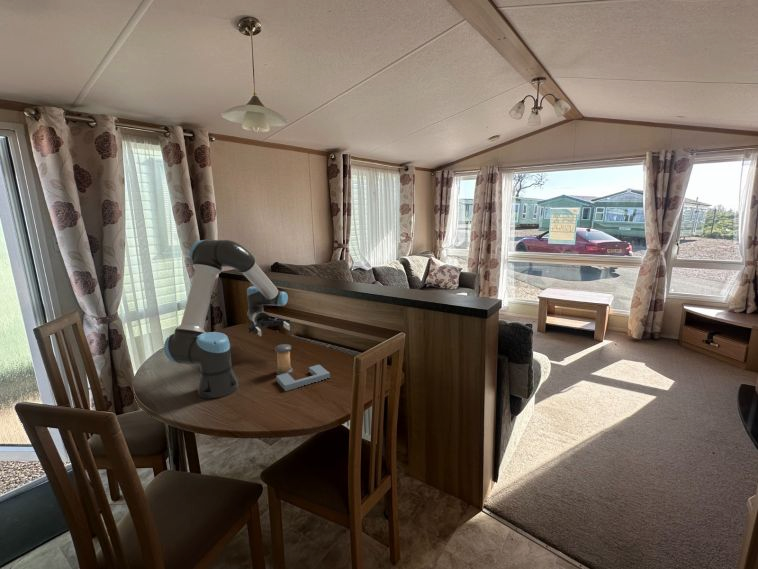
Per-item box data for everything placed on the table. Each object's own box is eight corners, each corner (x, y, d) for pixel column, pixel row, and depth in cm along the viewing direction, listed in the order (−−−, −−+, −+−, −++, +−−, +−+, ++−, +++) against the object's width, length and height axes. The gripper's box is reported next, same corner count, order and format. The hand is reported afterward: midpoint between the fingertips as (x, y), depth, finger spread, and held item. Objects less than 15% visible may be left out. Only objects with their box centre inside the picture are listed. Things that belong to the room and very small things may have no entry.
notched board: (285, 391, 144) (285, 385, 144) (276, 381, 153) (276, 375, 153) (330, 378, 155) (329, 373, 155) (319, 369, 164) (319, 364, 163)
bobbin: (279, 376, 157) (277, 351, 155) (274, 371, 163) (272, 346, 161) (295, 372, 161) (293, 347, 159) (289, 367, 167) (287, 343, 165)
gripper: (285, 321, 193) (300, 332, 175) (237, 331, 179) (248, 343, 162) (284, 308, 191) (299, 317, 174) (235, 316, 177) (247, 327, 160)
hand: (275, 330), depth 168 cm, fingers open, 13 cm apart
